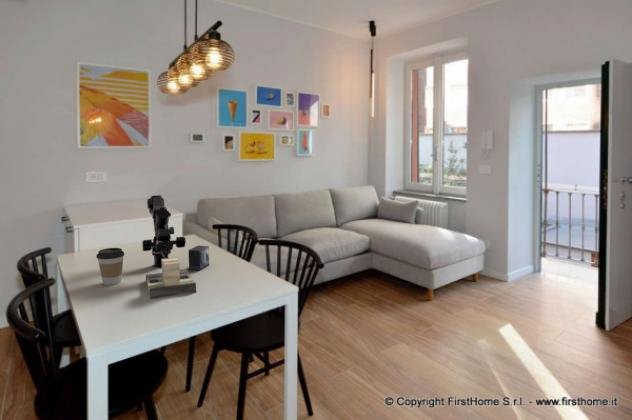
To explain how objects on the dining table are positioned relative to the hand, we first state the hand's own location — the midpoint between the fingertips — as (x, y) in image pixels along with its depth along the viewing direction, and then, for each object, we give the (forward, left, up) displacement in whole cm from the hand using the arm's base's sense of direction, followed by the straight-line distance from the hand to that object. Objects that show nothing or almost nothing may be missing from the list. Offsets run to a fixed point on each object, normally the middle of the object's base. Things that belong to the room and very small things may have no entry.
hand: (166, 259), depth 184 cm
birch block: (+11, -11, -7) cm, 17 cm away
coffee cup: (-21, -11, -10) cm, 26 cm away
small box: (+2, +22, -10) cm, 24 cm away
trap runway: (+7, -7, -10) cm, 14 cm away
